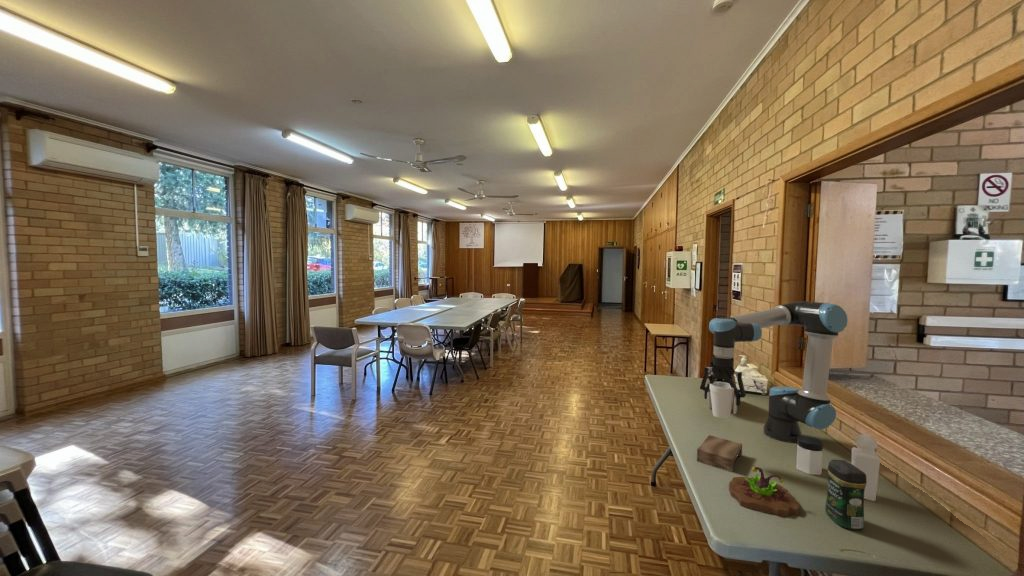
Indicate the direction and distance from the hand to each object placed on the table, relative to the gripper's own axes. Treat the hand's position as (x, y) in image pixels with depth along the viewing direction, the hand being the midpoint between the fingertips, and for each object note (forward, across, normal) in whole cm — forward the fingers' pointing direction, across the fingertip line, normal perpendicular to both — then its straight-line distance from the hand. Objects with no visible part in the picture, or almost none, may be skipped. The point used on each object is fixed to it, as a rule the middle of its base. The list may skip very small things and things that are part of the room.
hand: (721, 409), depth 164 cm
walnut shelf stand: (+21, 0, 0) cm, 21 cm away
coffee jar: (+21, +40, -19) cm, 49 cm away
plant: (+21, +18, -21) cm, 35 cm away
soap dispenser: (+21, +45, +4) cm, 50 cm away
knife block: (+21, -14, +67) cm, 71 cm away
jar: (+21, +29, +13) cm, 38 cm away
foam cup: (+3, 0, 0) cm, 3 cm away
